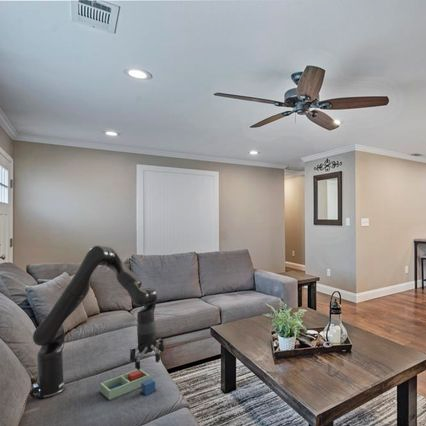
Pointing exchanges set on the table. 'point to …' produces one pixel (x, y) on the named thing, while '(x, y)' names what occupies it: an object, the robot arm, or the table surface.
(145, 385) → the blue block
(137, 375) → the red block
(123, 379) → the sorting tray
